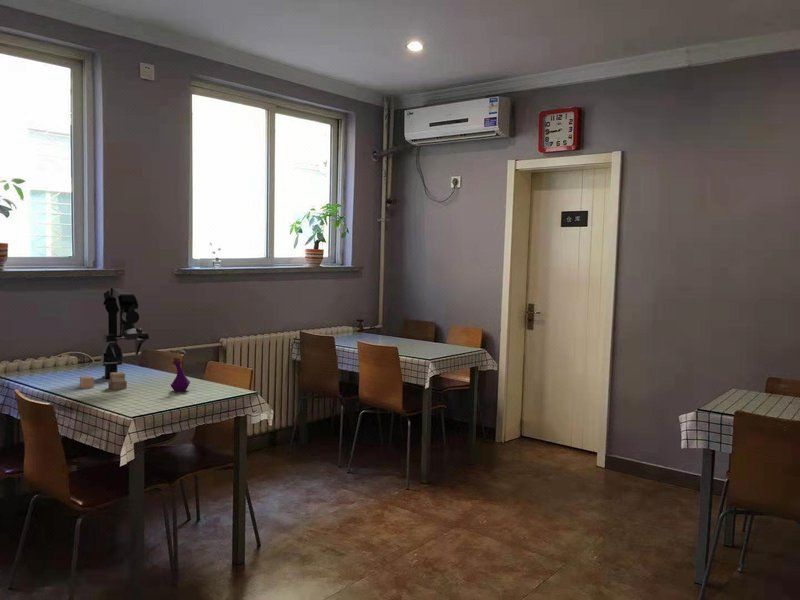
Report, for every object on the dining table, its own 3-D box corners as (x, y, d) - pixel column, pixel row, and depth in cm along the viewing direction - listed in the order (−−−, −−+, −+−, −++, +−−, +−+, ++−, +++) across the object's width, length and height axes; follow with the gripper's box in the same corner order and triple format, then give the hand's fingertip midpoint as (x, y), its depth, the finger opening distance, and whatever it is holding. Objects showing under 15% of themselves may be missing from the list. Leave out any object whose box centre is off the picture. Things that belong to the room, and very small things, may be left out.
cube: (79, 387, 301) (79, 377, 301) (90, 385, 304) (90, 376, 304) (83, 388, 298) (82, 378, 298) (93, 387, 301) (93, 377, 301)
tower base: (108, 388, 300) (108, 380, 299) (120, 387, 304) (120, 379, 304) (114, 390, 296) (114, 382, 296) (126, 388, 300) (126, 380, 300)
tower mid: (110, 380, 300) (110, 372, 300) (122, 379, 303) (122, 371, 303) (113, 382, 296) (113, 374, 296) (124, 381, 299) (124, 373, 299)
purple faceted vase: (170, 392, 293) (170, 351, 292) (172, 389, 300) (172, 349, 299) (188, 392, 294) (188, 351, 293) (190, 389, 302) (190, 349, 301)
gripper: (110, 324, 289) (111, 360, 290) (154, 322, 301) (153, 356, 302) (102, 321, 297) (102, 356, 298) (144, 319, 309) (144, 353, 310)
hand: (126, 356), depth 302 cm, fingers open, 9 cm apart
